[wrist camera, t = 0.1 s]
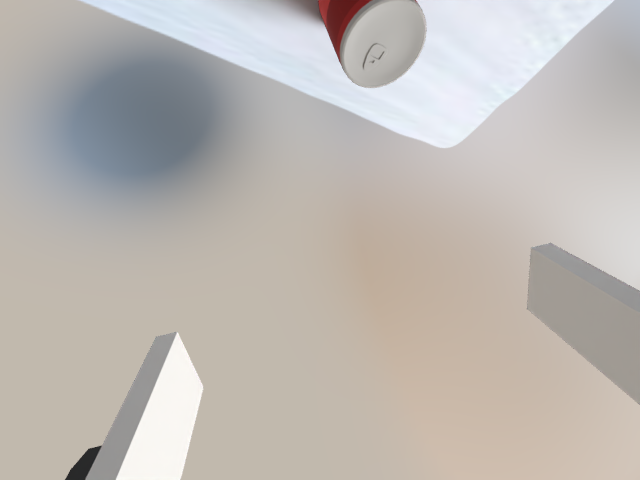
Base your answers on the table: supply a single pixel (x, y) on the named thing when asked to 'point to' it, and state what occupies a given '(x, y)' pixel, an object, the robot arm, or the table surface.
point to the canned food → (374, 37)
